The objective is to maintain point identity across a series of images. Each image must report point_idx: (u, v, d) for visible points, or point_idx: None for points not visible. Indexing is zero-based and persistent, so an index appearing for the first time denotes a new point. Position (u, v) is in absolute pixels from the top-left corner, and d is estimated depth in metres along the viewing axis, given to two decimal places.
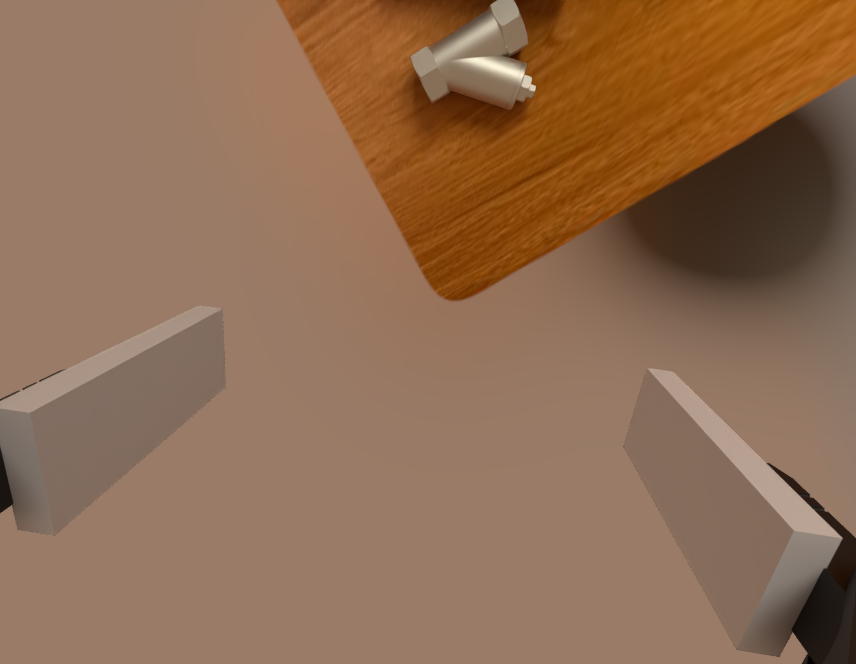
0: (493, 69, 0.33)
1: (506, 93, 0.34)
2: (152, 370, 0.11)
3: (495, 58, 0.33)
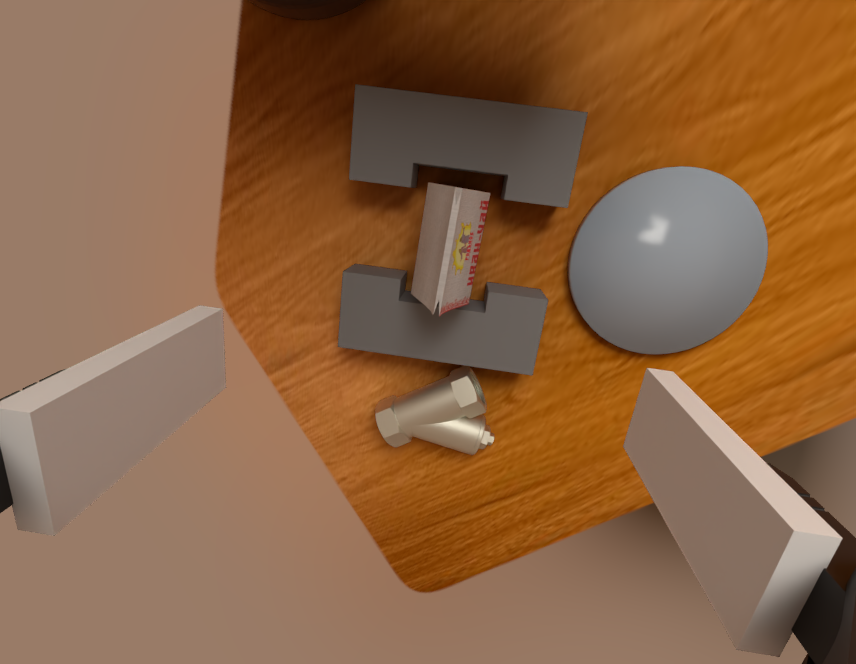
0: (452, 434, 0.35)
1: (465, 450, 0.35)
2: (152, 370, 0.11)
3: (455, 423, 0.35)
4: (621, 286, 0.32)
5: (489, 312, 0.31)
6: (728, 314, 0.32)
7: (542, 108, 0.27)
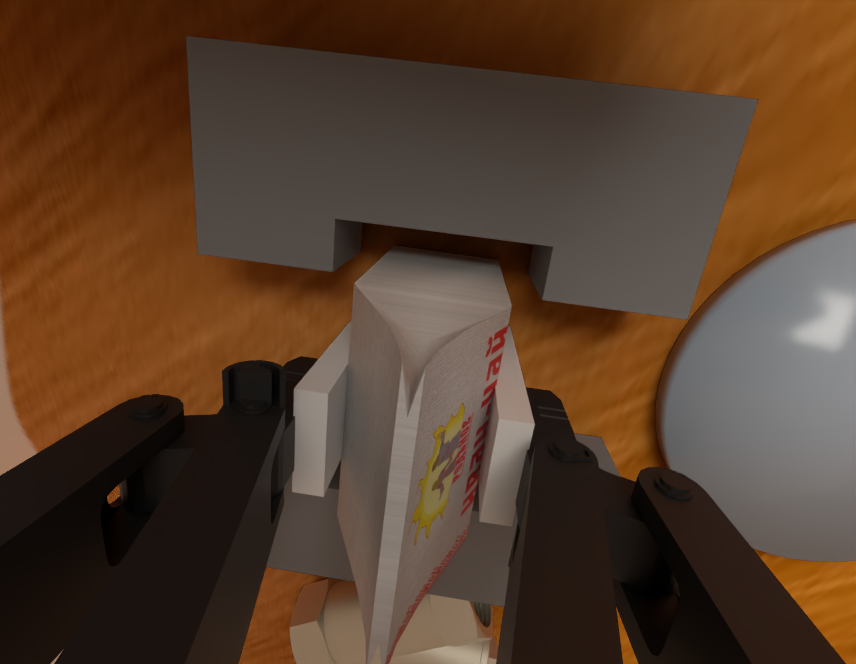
0: None
1: None
2: None
3: (434, 654, 0.19)
4: (767, 446, 0.16)
5: None
6: None
7: (644, 89, 0.11)
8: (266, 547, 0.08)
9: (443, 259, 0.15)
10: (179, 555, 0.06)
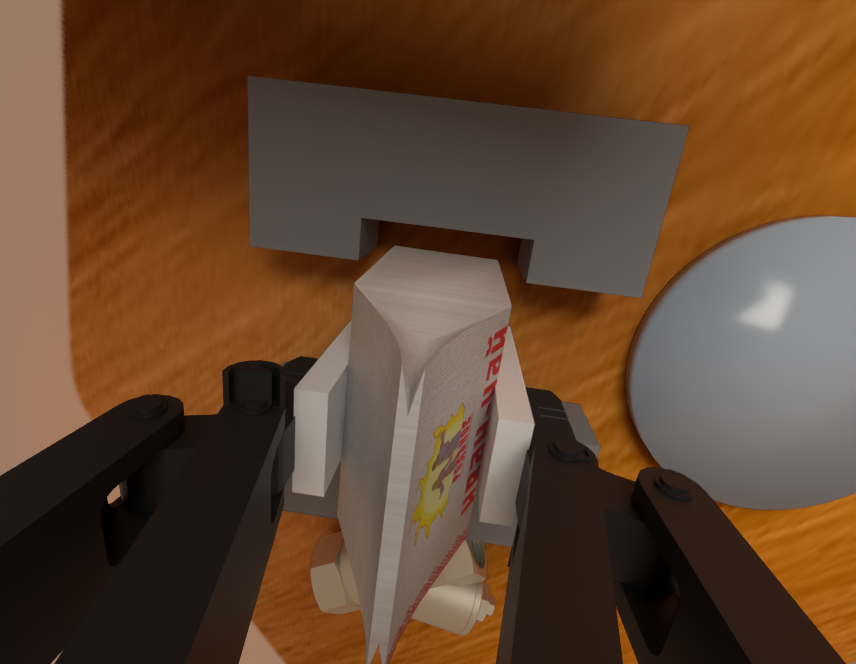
0: (430, 610, 0.22)
1: (448, 630, 0.23)
2: None
3: (435, 592, 0.22)
4: (717, 409, 0.20)
5: None
6: None
7: (602, 118, 0.14)
8: (266, 547, 0.08)
9: (443, 259, 0.15)
10: (179, 555, 0.06)
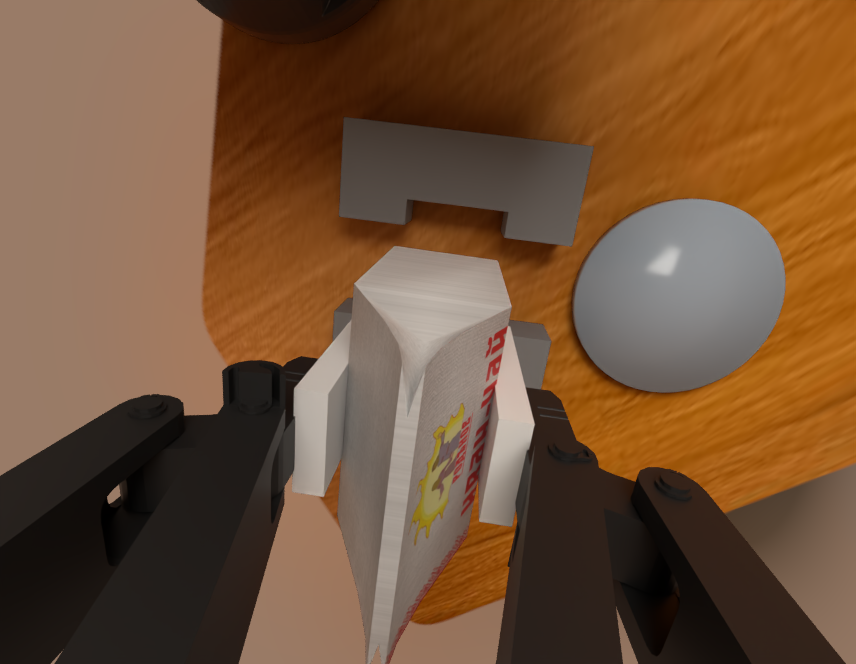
0: None
1: None
2: None
3: None
4: (628, 323, 0.31)
5: None
6: (742, 352, 0.31)
7: (545, 141, 0.25)
8: (266, 547, 0.08)
9: (443, 259, 0.15)
10: (179, 555, 0.06)
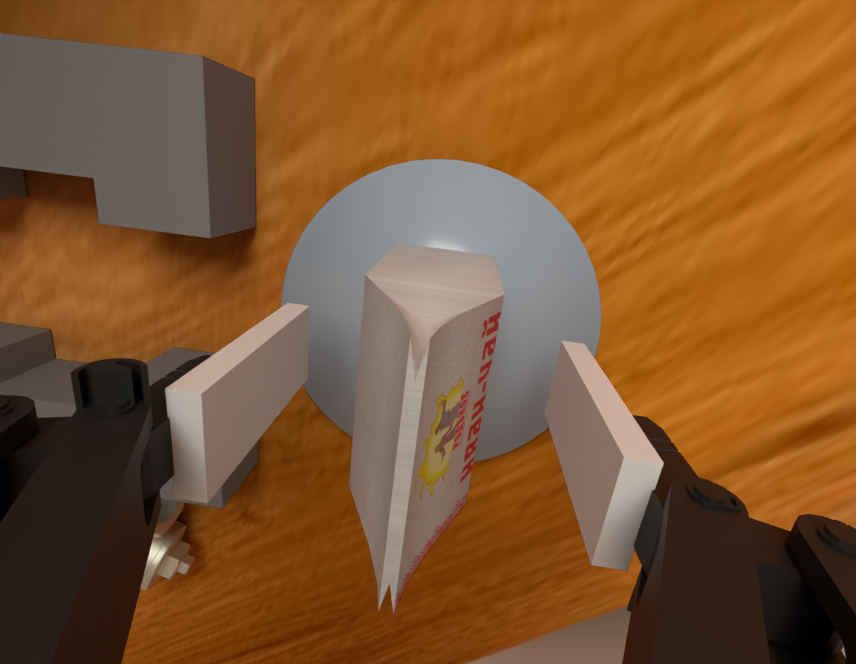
0: None
1: None
2: (267, 361, 0.12)
3: None
4: None
5: None
6: None
7: (118, 48, 0.14)
8: (142, 550, 0.08)
9: (443, 255, 0.16)
10: (33, 566, 0.05)
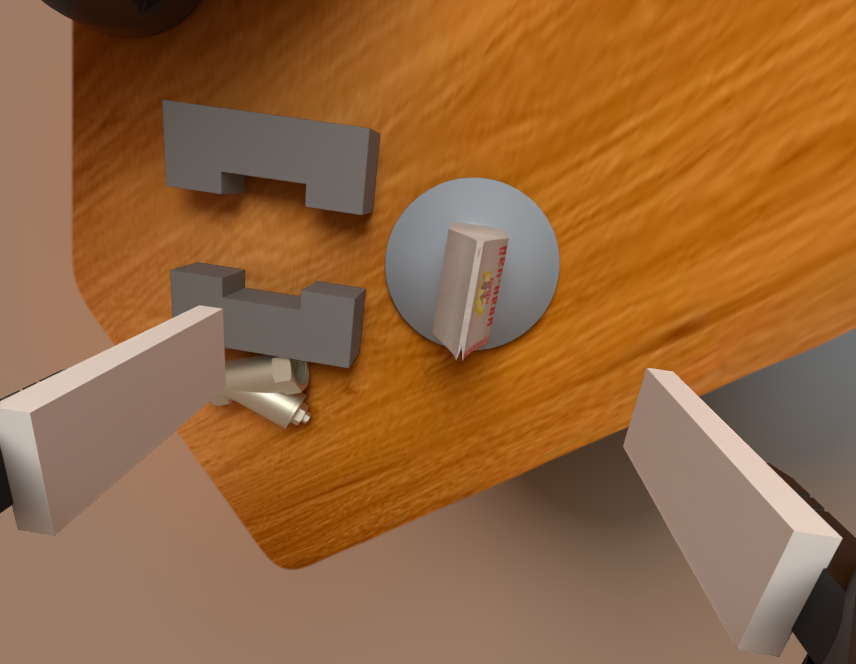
0: (267, 405, 0.37)
1: (277, 422, 0.38)
2: (151, 370, 0.11)
3: (271, 396, 0.37)
4: (432, 287, 0.35)
5: (304, 309, 0.34)
6: (531, 314, 0.35)
7: (329, 123, 0.30)
8: None
9: (478, 226, 0.32)
10: None
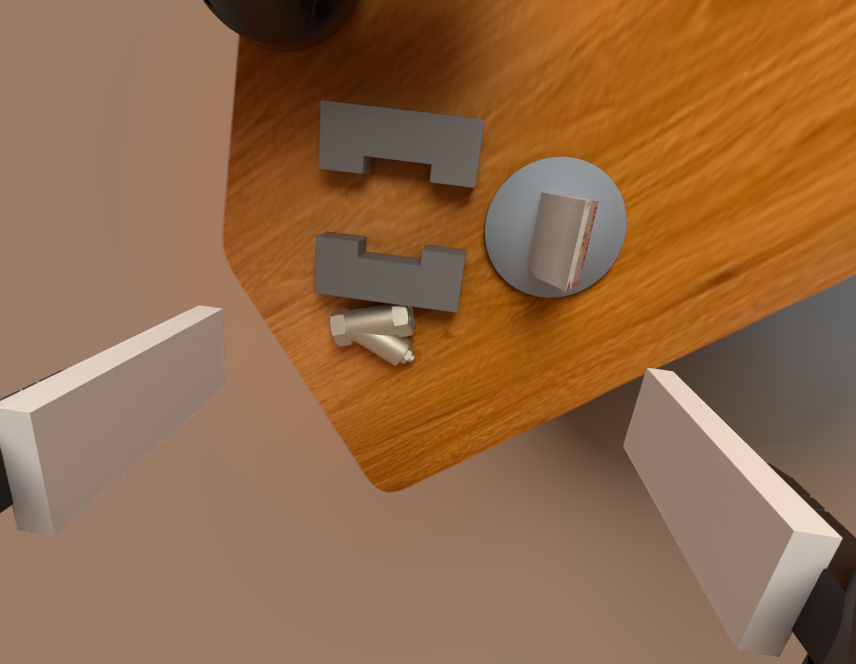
0: (384, 345, 0.46)
1: (390, 360, 0.47)
2: (152, 370, 0.11)
3: (388, 337, 0.46)
4: (522, 246, 0.44)
5: (423, 265, 0.43)
6: (602, 266, 0.44)
7: (453, 116, 0.38)
8: None
9: (564, 195, 0.41)
10: None
